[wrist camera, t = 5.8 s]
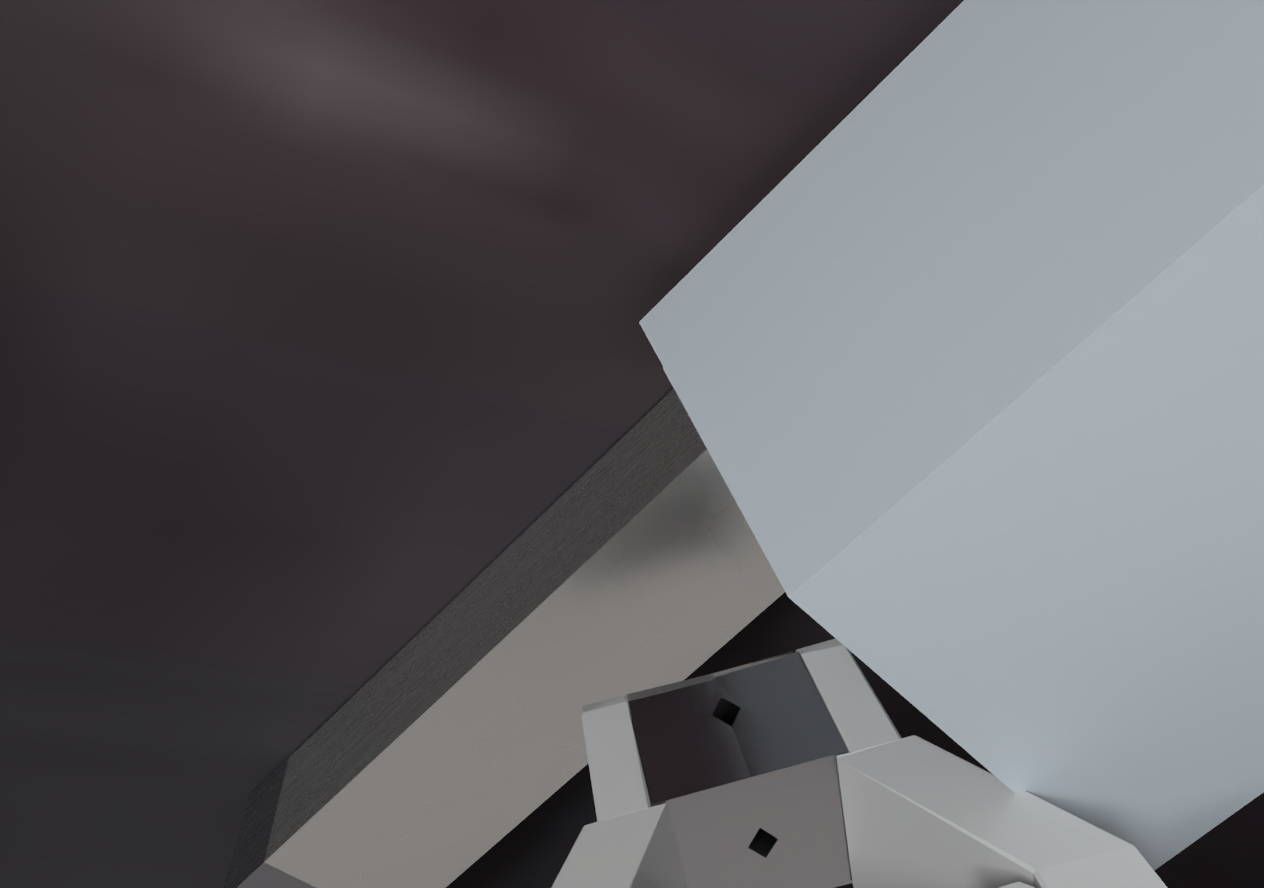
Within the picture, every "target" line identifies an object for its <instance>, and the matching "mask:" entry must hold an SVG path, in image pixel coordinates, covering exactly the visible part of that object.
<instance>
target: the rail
mask: <svg viewBox="0 0 1264 888" xmlns="http://www.w3.org/2000/svg"><path fill="white" fill-rule="evenodd" d="M784 592H785V590H784V589H783V587H782V585H781V583H780V581H779V579H778V578H777V576H776V574H775V572H774V570H773V568H772V567H771V565H770V563H769V561H768V559H767V558H766V556H765V554H764V552H763V550H762V548H761V547H760V545H759V543H758V541H757V539H756V537H755V536H754V534H753V532H752V530H751V528H750V526H749V525H748V523H747V521H746V519H745V517H744V516H743V514H742V512H741V510H740V508H739V506H738V505H737V503H736V501H735V499H734V497H733V495H732V494H731V492H730V490H729V488H728V486H727V484H726V483H725V481H724V479H723V477H722V475H721V474H720V472H719V470H718V468H717V466H716V464H715V463H714V461H713V459H712V457H711V455H710V453H709V452H708V450H707V448H706V446H705V444H704V442H703V441H702V439H701V437H700V435H699V433H698V432H697V430H696V428H695V426H694V424H693V422H692V421H691V419H690V417H689V415H688V413H687V411H686V410H685V408H684V406H683V404H682V402H681V400H680V399H679V397H678V395H677V393H676V391H675V390H674V389H673V390H672V391H671V392H670V393H669V394H668V395H667V396H666V397H664V398H663V399H662V400H661V401H660V402H659V403H658V404H657V405H656V406H655V407H654V408H653V409H652V410H651V411H650V412H649V413H648V414H647V415H646V416H645V417H644V418H643V419H642V420H641V421H639V422H638V423H637V424H636V425H635V426H634V427H633V428H632V429H631V430H630V431H629V432H628V433H627V434H626V435H625V436H624V437H623V438H622V439H621V440H620V441H619V442H618V443H617V444H616V445H614V446H613V447H612V448H611V449H610V450H609V451H608V452H607V453H606V454H605V455H604V456H603V457H602V458H601V459H600V460H599V461H598V462H597V463H596V464H595V465H594V466H593V467H592V468H591V469H589V470H588V471H587V472H586V473H585V474H584V475H583V476H582V477H581V478H580V479H579V480H578V481H577V482H576V483H575V484H574V485H573V486H572V487H571V488H570V489H569V490H568V491H567V492H566V493H564V494H563V495H562V496H561V497H560V498H559V499H558V500H557V501H556V502H555V503H554V504H553V505H552V506H551V507H550V508H549V509H548V510H547V511H546V512H545V513H544V514H543V515H542V516H541V517H539V518H538V519H537V520H536V521H535V522H534V523H533V524H532V525H531V526H530V527H529V528H528V529H527V530H526V531H525V532H524V533H523V534H522V535H521V536H520V537H519V538H518V539H517V540H515V541H514V542H513V543H512V544H511V545H510V546H509V547H508V548H507V549H506V550H505V551H504V552H503V553H502V554H501V555H500V556H499V557H498V558H497V559H496V560H495V561H494V562H493V563H492V564H490V565H489V566H488V567H487V568H486V569H485V570H484V571H483V572H482V573H481V574H480V575H479V576H478V577H477V578H476V579H475V580H474V581H473V582H472V583H471V584H470V585H469V586H468V587H467V588H465V589H464V590H463V591H462V592H461V593H460V594H459V595H458V596H457V597H456V598H455V599H454V600H453V601H452V602H451V603H450V604H449V605H448V606H447V607H446V608H445V609H444V610H443V611H442V612H440V613H439V614H438V615H437V616H436V617H435V618H434V619H433V620H432V621H431V622H430V623H429V624H428V625H427V626H426V627H425V628H424V629H423V630H422V631H421V632H420V633H419V634H418V635H417V636H415V637H414V638H413V639H412V640H411V641H410V642H409V643H408V644H407V645H406V646H405V647H404V648H403V649H402V650H401V651H400V652H399V653H398V654H397V655H396V656H395V657H394V658H393V659H392V660H390V661H389V662H388V663H387V664H386V665H385V666H384V667H383V668H382V669H381V670H380V671H379V672H378V673H377V674H376V675H375V676H374V677H373V678H372V679H371V680H370V681H369V682H368V683H367V684H365V685H364V686H363V687H362V688H361V689H360V690H359V691H358V692H357V693H356V694H355V695H354V696H353V697H352V698H351V699H350V700H349V701H348V702H347V703H346V704H345V705H344V706H343V707H341V708H340V709H339V710H338V711H337V712H336V713H335V714H334V715H333V716H332V717H331V718H330V719H329V720H328V721H327V722H326V723H325V724H324V725H323V726H322V727H321V728H320V729H319V730H318V731H316V732H315V733H314V734H313V735H312V736H311V737H310V738H309V739H308V740H307V741H306V742H305V743H304V744H303V745H302V746H301V747H300V748H299V749H298V750H297V751H296V752H295V753H294V754H293V755H291V756H290V757H289V758H288V759H287V760H286V761H285V762H284V763H283V764H282V765H281V766H280V767H279V768H278V769H277V770H276V771H275V772H274V773H273V774H272V775H271V776H270V777H269V778H268V779H266V780H265V781H264V782H263V783H262V784H261V785H260V786H259V787H258V788H257V789H256V790H255V791H254V792H253V793H252V794H251V795H250V796H249V799H248V803H247V807H246V810H245V814H244V817H243V821H242V825H241V828H240V832H239V835H238V839H237V843H236V846H235V850H234V853H233V857H232V861H231V864H230V868H229V872H228V875H227V879H226V882H225V886H224V888H446V887H447V886H448V885H449V884H450V883H452V882H453V881H454V880H455V879H456V878H457V877H458V876H460V875H461V874H462V873H463V872H464V871H465V870H466V869H468V868H469V867H470V866H471V865H472V864H473V863H475V862H476V861H477V860H478V859H479V858H480V857H481V856H483V855H484V854H485V853H486V852H487V851H488V850H489V849H491V848H492V847H493V846H494V845H495V844H496V843H497V842H499V841H500V840H501V839H502V838H503V837H504V836H506V835H507V834H508V833H509V832H510V831H511V830H512V829H514V828H515V827H516V826H517V825H518V824H519V823H520V822H522V821H523V820H524V819H525V818H526V817H527V816H528V815H530V814H531V813H532V812H533V811H534V810H535V809H537V808H538V807H539V806H540V805H541V804H542V803H543V802H545V801H546V800H547V799H548V798H549V797H550V796H551V795H553V794H554V793H555V792H556V791H557V790H558V789H559V788H561V787H562V786H563V785H564V784H565V783H566V782H567V781H569V780H570V779H571V778H572V777H573V776H574V775H576V774H577V773H578V772H579V771H580V770H581V769H582V768H584V767H585V766H586V765H587V764H588V757H587V751H586V744H585V738H584V731H583V725H582V718H581V713H582V706H584V705H588V704H592V703H596V702H601V701H605V700H609V699H613V698H617V697H621V696H626V698H627V694H630V693H634V692H638V691H642V690H647V689H651V688H655V687H659V686H663V685H667V684H671V683H676V682H680V681H683V680H685V679H686V678H687V677H688V676H689V675H690V674H691V673H693V672H694V671H695V670H696V669H697V668H698V667H700V666H701V665H702V664H703V663H704V662H705V661H706V660H708V659H709V658H710V657H711V656H712V655H713V654H714V653H716V652H717V651H718V650H719V649H720V648H721V647H722V646H724V645H725V644H726V643H727V642H728V641H729V640H731V639H732V638H733V637H734V636H735V635H736V634H737V633H739V632H740V631H741V630H742V629H743V628H744V627H745V626H747V625H748V624H749V623H750V622H751V621H752V620H753V619H755V618H756V617H757V616H758V615H759V614H760V613H761V612H763V611H764V610H765V609H766V608H767V607H768V606H770V605H771V604H772V603H773V602H774V601H775V600H776V599H778V598H779V597H780V596H781V595H782V594H783V593H784ZM627 701H628V698H627ZM628 705H629V703H628ZM629 708H630V707H629Z"/></svg>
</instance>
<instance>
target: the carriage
mask: <svg viewBox="0 0 1264 888" xmlns="http://www.w3.org/2000/svg"><path fill="white" fill-rule="evenodd" d="M639 323H640V325H641V327H642V329H643V331H644V332H645V334H646V336H647V338H648V340H649V341H650V343H651V345H652V347H653V349H654V351H655V352H656V354H657V356H658V358H659V360H660V361H661V363H662V365H663V369H664V371H665V373H666V375H667V377H668V379H669V380H670V382H671V384H672V386H673V388H674V390H675V391H676V393H677V395H678V397H679V399H680V400H681V402H682V404H683V406H684V408H685V410H686V411H687V413H688V415H689V417H690V419H691V421H692V422H693V424H694V426H695V428H696V430H697V432H698V433H699V435H700V437H701V439H702V441H703V442H704V444H705V446H706V448H707V450H708V452H709V453H710V455H711V457H712V459H713V461H714V463H715V464H716V466H717V468H718V470H719V472H720V474H721V475H722V477H723V479H724V481H725V483H726V484H727V486H728V488H729V490H730V492H731V494H732V495H733V497H734V499H735V501H736V503H737V505H738V506H739V508H740V510H741V512H742V514H743V516H744V517H745V519H746V521H747V523H748V525H749V526H750V528H751V530H752V532H753V534H754V536H755V537H756V539H757V541H758V543H759V545H760V547H761V548H762V550H763V552H764V554H765V556H766V558H767V559H768V561H769V563H770V565H771V567H772V568H773V570H774V572H775V574H776V576H777V578H778V579H779V581H780V583H781V585H782V587H783V589H784V590H785V592H786V594H787V596H788V597H789V598H790V599H791V600H792V601H793V602H794V603H795V604H797V605H798V606H799V607H800V608H801V609H802V610H804V611H805V612H806V613H807V614H808V615H809V616H811V617H812V618H813V619H814V620H815V621H816V622H817V623H819V624H820V625H821V626H822V627H823V628H824V629H826V630H827V631H828V632H829V633H830V634H831V635H833V636H834V637H835V638H836V639H837V640H838V641H839V642H841V643H842V644H843V645H844V646H845V647H846V648H848V649H849V650H850V651H851V652H852V653H853V654H854V655H856V656H857V657H858V658H859V659H860V660H861V661H863V662H864V663H865V664H866V665H867V666H868V667H870V668H871V669H872V670H873V671H874V672H875V673H876V674H878V675H879V676H880V677H881V678H882V679H883V680H885V681H886V682H887V683H888V684H889V685H890V686H891V687H893V688H894V689H895V690H896V691H897V692H898V693H900V694H901V695H902V696H903V697H904V698H905V699H907V700H908V701H909V702H910V703H911V704H912V705H913V706H915V707H916V708H917V709H918V710H919V711H920V712H922V713H923V714H924V715H925V716H926V717H927V718H929V719H930V720H931V721H932V722H933V723H934V724H935V725H937V726H938V727H939V728H940V729H941V730H942V731H944V732H945V733H946V734H947V735H948V736H949V737H950V738H952V739H953V740H954V741H955V742H956V743H957V744H959V745H960V746H961V747H962V748H963V749H964V750H966V751H967V752H968V753H969V754H970V755H971V756H972V757H974V758H975V759H976V760H977V761H978V762H979V763H981V764H982V765H983V766H984V767H985V768H986V769H987V770H989V771H990V772H991V773H992V774H993V775H994V776H996V777H997V778H998V779H999V780H1000V781H1001V782H1003V783H1004V784H1005V785H1006V786H1007V787H1008V788H1009V789H1011V790H1012V791H1013V792H1014V793H1017V792H1021V791H1027V792H1029V793H1031V794H1033V795H1035V796H1037V797H1039V798H1041V799H1043V800H1045V801H1047V802H1049V803H1051V804H1053V805H1055V806H1057V807H1058V808H1060V809H1062V810H1064V811H1066V812H1068V813H1070V814H1072V815H1074V816H1076V817H1078V818H1080V819H1082V820H1084V821H1086V822H1088V823H1090V824H1092V825H1094V826H1096V827H1098V828H1100V829H1102V830H1104V831H1106V832H1108V833H1110V834H1112V835H1114V836H1116V837H1118V838H1120V839H1122V840H1124V841H1126V842H1128V843H1130V844H1132V845H1134V846H1135V847H1136V849H1137V850H1138V851H1139V852H1140V854H1141V855H1142V856H1143V857H1144V859H1145V860H1146V861H1147V862H1148V864H1149V865H1150V866H1151V868H1152V869H1153V870H1156V869H1157V868H1158V867H1160V866H1161V865H1163V864H1164V863H1165V862H1167V861H1168V860H1170V859H1171V858H1172V857H1174V856H1175V855H1177V854H1178V853H1179V852H1181V851H1182V850H1184V849H1185V848H1186V847H1188V846H1189V845H1191V844H1192V843H1193V842H1195V841H1196V840H1198V839H1199V838H1200V837H1202V836H1203V835H1205V834H1206V833H1207V832H1209V831H1210V830H1212V829H1213V828H1214V827H1216V826H1217V825H1219V824H1220V823H1221V822H1223V821H1224V820H1226V819H1227V818H1228V817H1230V816H1231V815H1232V814H1234V813H1235V812H1237V811H1238V810H1239V809H1241V808H1242V807H1244V806H1245V805H1246V804H1248V803H1249V802H1251V801H1252V800H1253V799H1255V798H1256V797H1258V796H1259V795H1260V794H1262V793H1263V792H1264V0H964V1H963V2H962V3H961V4H960V5H959V6H958V7H957V8H956V9H955V10H954V11H953V12H952V13H951V14H950V15H949V16H948V17H947V18H946V19H945V20H944V21H943V22H942V23H941V24H940V25H939V26H938V27H937V28H936V29H935V30H934V31H933V32H932V33H931V34H930V35H929V36H928V37H927V38H926V39H925V40H924V41H922V42H921V43H920V44H919V45H918V46H917V47H916V48H915V49H914V50H913V51H912V52H911V53H910V54H909V55H908V56H907V57H906V58H905V59H904V60H903V61H902V62H901V63H900V64H899V65H898V66H897V67H896V68H895V69H894V70H893V71H892V72H891V73H890V74H889V75H888V76H887V77H886V78H885V79H884V80H883V81H882V82H881V83H880V84H879V85H878V86H877V87H876V88H875V89H874V90H873V91H872V92H871V93H870V94H869V95H868V96H867V97H866V98H865V99H864V100H863V101H862V102H861V103H860V104H859V105H858V106H857V107H856V108H855V109H854V110H853V111H852V112H851V113H850V114H849V115H848V116H847V117H846V118H845V119H844V120H843V121H842V122H841V123H840V124H839V125H838V126H837V127H836V128H835V129H834V130H833V131H832V132H831V133H830V134H829V135H827V136H826V137H825V138H824V139H823V140H822V141H821V142H820V143H819V144H818V145H817V146H816V147H815V148H814V149H813V150H812V151H811V152H810V153H809V154H808V155H807V156H806V157H805V158H804V159H803V160H802V161H801V162H800V163H799V164H798V165H797V166H796V167H795V168H794V169H793V170H792V171H791V172H790V173H789V174H788V175H787V176H786V177H785V178H784V179H783V180H782V181H781V182H780V183H779V184H778V185H777V186H776V187H775V188H774V189H773V190H772V191H771V192H770V193H769V194H768V195H767V196H766V197H765V198H764V199H763V200H762V201H761V202H760V203H759V204H758V205H757V206H756V207H755V208H754V209H753V210H752V211H751V212H750V213H749V214H748V215H747V216H746V217H745V218H744V219H743V220H742V221H741V222H740V223H739V224H738V225H737V226H736V227H735V228H734V229H733V230H731V231H730V232H729V233H728V234H727V235H726V236H725V237H724V238H723V239H722V240H721V241H720V242H719V243H718V244H717V245H716V246H715V247H714V248H713V249H712V250H711V251H710V252H709V253H708V254H707V255H706V256H705V257H704V258H703V259H702V260H701V261H700V262H699V263H698V264H697V265H696V266H695V267H694V268H693V269H692V270H691V271H690V272H689V273H688V274H687V275H686V276H685V277H684V278H683V279H682V280H681V281H680V282H679V283H678V284H677V285H676V286H675V287H674V288H673V289H672V290H671V291H670V292H669V293H668V294H667V295H666V296H665V297H664V298H663V299H662V300H661V301H660V302H659V303H658V304H657V305H656V306H655V307H654V308H653V309H652V310H651V311H650V312H649V313H648V314H647V315H646V316H645V317H644V318H643V319H642V320H641V321H640V322H639Z"/></svg>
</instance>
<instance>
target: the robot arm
mask: <svg viewBox="0 0 1264 888" xmlns="http://www.w3.org/2000/svg"><path fill="white" fill-rule="evenodd" d="M627 698H628V701H627ZM627 698H626V696H621V697H617V698H613V699H609V700H605V701H601V702H596V703H592V704H588V705H584V706H582V713H581V718H582V725H583V731H584V738H585V744H586V751H587V757H588V764H589V770H590V777H591V783H592V790H593V796H594V803H595V809H596V816H597V822H595V823H591V824H588V825H585V826H584V827H583V829H582V830H581V832H580V834H579V836H578V838H577V840H576V842H575V844H574V846H573V847H572V849H571V851H570V853H569V855H568V857H567V859H566V861H565V863H564V864H563V866H562V868H561V870H560V872H559V874H558V876H557V878H556V880H555V882H554V883H553V885H552V887H551V888H834V887H838V886H842V885H846V884H850V883H853V887H854V888H1167V886H1166V885H1165V884H1164V883H1163V881H1162V880H1161V879H1160V878H1159V876H1158V875H1157V874H1156V873H1155V871H1154V870H1153V869H1152V868H1151V866H1150V865H1149V864H1148V862H1147V861H1146V860H1145V859H1144V857H1143V856H1142V855H1141V854H1140V852H1139V851H1138V850H1137V849H1136V847H1135V846H1134V845H1132V844H1130V843H1128V842H1126V841H1124V840H1122V839H1120V838H1118V837H1116V836H1114V835H1112V834H1110V833H1108V832H1106V831H1104V830H1102V829H1100V828H1098V827H1096V826H1094V825H1092V824H1090V823H1088V822H1086V821H1084V820H1082V819H1080V818H1078V817H1076V816H1074V815H1072V814H1070V813H1068V812H1066V811H1064V810H1062V809H1060V808H1058V807H1057V806H1055V805H1053V804H1051V803H1049V802H1047V801H1045V800H1043V799H1041V798H1039V797H1037V796H1035V795H1033V794H1031V793H1029V792H1027V791H1021V792H1017V793H1014V792H1013V791H1012V790H1011V789H1009V788H1008V787H1007V786H1006V785H1005V784H1004V783H1003V782H1001V781H1000V780H999V779H998V778H997V777H996V776H994V775H993V774H991V773H989V772H987V771H985V770H983V769H981V768H979V767H977V766H975V765H974V764H972V763H970V762H968V761H966V760H964V759H962V758H960V757H958V756H956V755H954V754H952V753H950V752H948V751H946V750H944V749H942V748H940V747H938V746H936V745H934V744H932V743H930V742H928V741H926V740H924V739H922V738H920V737H918V736H916V735H913V736H909V737H906V738H901V736H900V734H899V733H898V731H897V729H896V728H895V726H894V724H893V723H892V721H891V719H890V718H889V716H888V714H887V713H886V711H885V709H884V708H883V706H882V704H881V703H880V701H879V699H878V698H877V696H876V694H875V693H874V691H873V689H872V688H871V686H870V684H869V683H868V681H867V679H866V678H865V676H864V674H863V673H862V671H861V669H860V667H859V666H858V664H857V662H856V661H855V659H854V657H853V656H852V654H851V652H850V651H849V649H848V648H846V647H845V646H844V645H843V644H842V643H841V642H839V641H838V640H837V639H836V638H835V639H832V640H828V641H825V642H821V643H818V644H814V645H811V646H807V647H804V648H800V649H797V650H796V651H795V652H789V653H785V654H782V655H778V656H774V657H771V658H767V659H764V660H760V661H756V662H753V663H749V664H745V665H742V666H738V667H734V668H731V669H727V670H723V671H720V672H716V673H712V674H709V675H705V676H700V677H696V678H692V679H688V680H684V681H680V682H676V683H671V684H667V685H663V686H659V687H655V688H651V689H647V690H642V691H638V692H634V693H630V694H627ZM628 703H629V705H628ZM629 707H630V708H629Z"/></svg>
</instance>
